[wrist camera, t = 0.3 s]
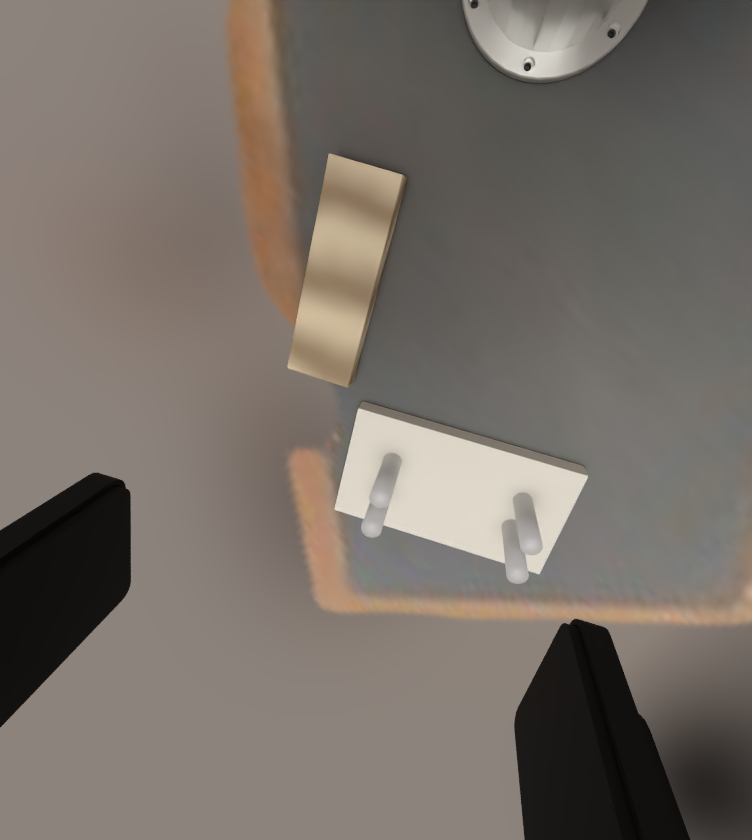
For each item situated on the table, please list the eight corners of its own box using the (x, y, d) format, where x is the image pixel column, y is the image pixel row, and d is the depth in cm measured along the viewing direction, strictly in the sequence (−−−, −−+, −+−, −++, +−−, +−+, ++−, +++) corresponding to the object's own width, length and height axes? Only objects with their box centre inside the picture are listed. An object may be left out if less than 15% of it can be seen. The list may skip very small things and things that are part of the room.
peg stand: (362, 401, 45) (339, 438, 37) (583, 465, 44) (609, 520, 35) (339, 499, 50) (313, 551, 42) (536, 561, 49) (549, 628, 40)
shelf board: (339, 158, 38) (328, 153, 35) (408, 178, 38) (402, 174, 35) (298, 359, 46) (287, 367, 43) (355, 378, 45) (347, 387, 42)
